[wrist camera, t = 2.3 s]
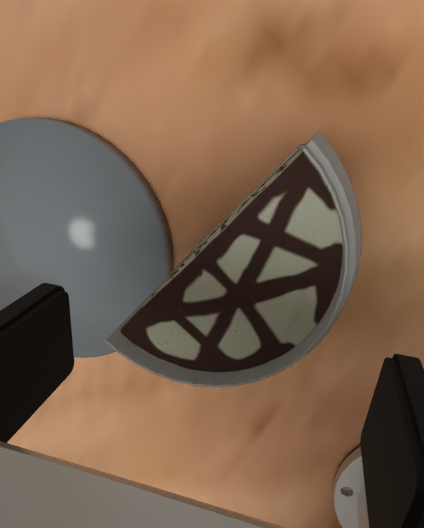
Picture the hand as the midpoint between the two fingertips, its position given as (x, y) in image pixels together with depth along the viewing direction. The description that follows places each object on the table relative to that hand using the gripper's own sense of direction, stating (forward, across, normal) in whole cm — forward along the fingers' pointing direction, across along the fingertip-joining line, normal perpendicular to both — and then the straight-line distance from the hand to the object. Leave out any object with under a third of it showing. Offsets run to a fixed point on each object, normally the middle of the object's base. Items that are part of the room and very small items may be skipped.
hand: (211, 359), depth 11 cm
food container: (+14, -1, +1) cm, 14 cm away
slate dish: (+14, +14, +4) cm, 20 cm away
